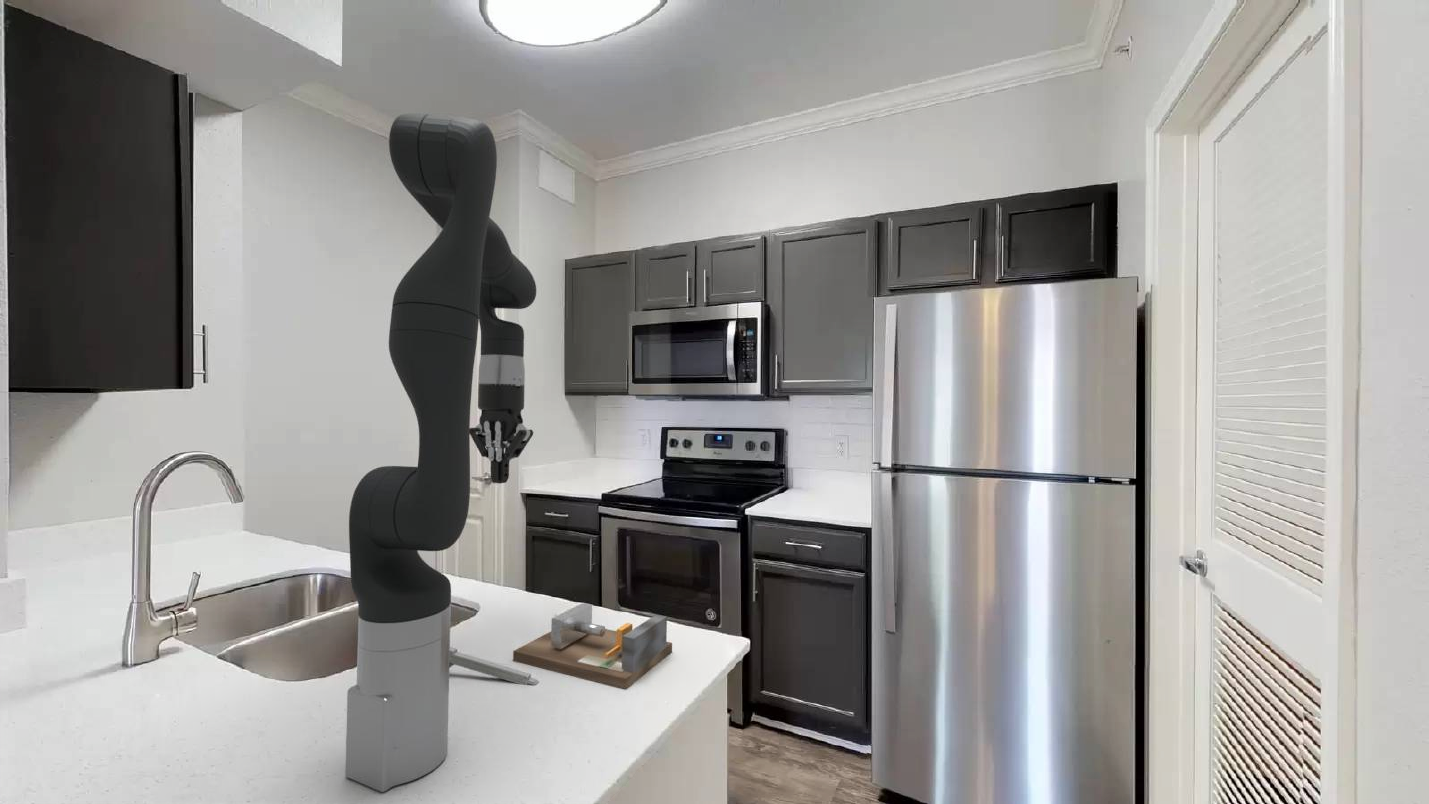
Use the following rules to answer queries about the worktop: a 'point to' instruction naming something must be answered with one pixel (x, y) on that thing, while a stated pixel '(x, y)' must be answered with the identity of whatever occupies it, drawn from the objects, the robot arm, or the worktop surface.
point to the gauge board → (603, 654)
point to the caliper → (490, 668)
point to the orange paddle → (619, 639)
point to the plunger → (573, 626)
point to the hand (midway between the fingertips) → (499, 482)
